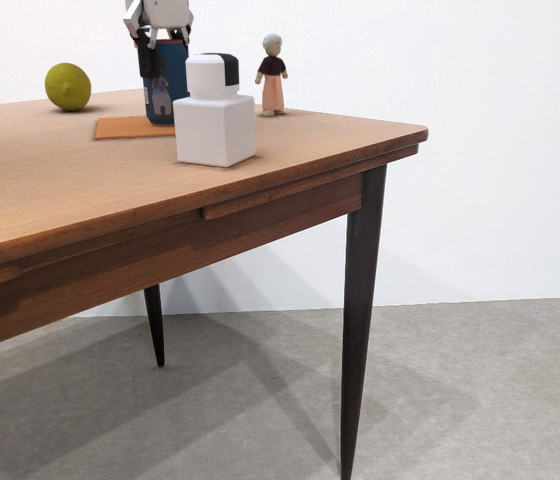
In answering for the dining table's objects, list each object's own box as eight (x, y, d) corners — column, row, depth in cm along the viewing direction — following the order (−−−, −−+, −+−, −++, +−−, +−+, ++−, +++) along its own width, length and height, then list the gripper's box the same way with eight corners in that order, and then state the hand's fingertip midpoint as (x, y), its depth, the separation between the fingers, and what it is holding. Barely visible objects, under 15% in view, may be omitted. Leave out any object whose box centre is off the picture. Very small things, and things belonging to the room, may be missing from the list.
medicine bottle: (208, 150, 78) (202, 50, 73) (256, 155, 75) (254, 52, 70) (176, 162, 72) (167, 55, 67) (227, 168, 69) (222, 57, 64)
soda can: (184, 117, 98) (178, 38, 93) (198, 124, 92) (192, 40, 87) (142, 121, 95) (133, 39, 90) (153, 129, 90) (145, 42, 85)
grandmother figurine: (272, 117, 99) (271, 34, 94) (252, 116, 101) (250, 34, 95) (294, 111, 105) (294, 32, 100) (275, 109, 107) (274, 32, 101)
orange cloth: (95, 139, 85) (94, 137, 85) (98, 119, 99) (98, 118, 99) (249, 131, 89) (249, 129, 89) (231, 113, 103) (231, 111, 103)
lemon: (92, 113, 104) (85, 64, 101) (44, 115, 103) (36, 66, 99) (96, 104, 114) (90, 59, 110) (53, 106, 112) (46, 60, 109)
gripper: (166, -55, 92) (175, 68, 99) (91, -65, 77) (109, 80, 85) (209, -57, 89) (215, 70, 97) (139, -68, 75) (153, 82, 82)
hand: (165, 74), depth 91 cm, fingers open, 7 cm apart
